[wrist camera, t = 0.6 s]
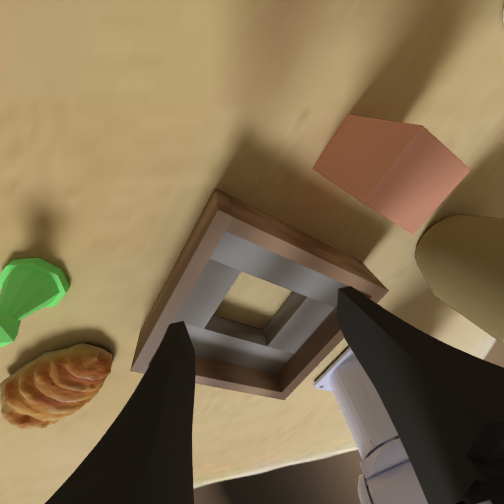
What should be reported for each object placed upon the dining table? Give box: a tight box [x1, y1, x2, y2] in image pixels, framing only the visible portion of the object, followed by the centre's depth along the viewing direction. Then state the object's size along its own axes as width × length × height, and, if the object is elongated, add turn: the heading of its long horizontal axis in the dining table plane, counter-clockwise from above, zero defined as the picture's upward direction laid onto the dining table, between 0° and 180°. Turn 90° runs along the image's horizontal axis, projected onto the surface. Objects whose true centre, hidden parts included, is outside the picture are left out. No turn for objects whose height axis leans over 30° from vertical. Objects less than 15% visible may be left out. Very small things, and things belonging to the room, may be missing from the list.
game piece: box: [0, 258, 70, 348], centre depth 18 cm, size 4×4×6 cm
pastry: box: [0, 343, 113, 429], centre depth 24 cm, size 9×7×4 cm
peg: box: [313, 114, 471, 234], centre depth 16 cm, size 4×4×7 cm
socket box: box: [130, 189, 389, 400], centre depth 23 cm, size 15×15×4 cm
